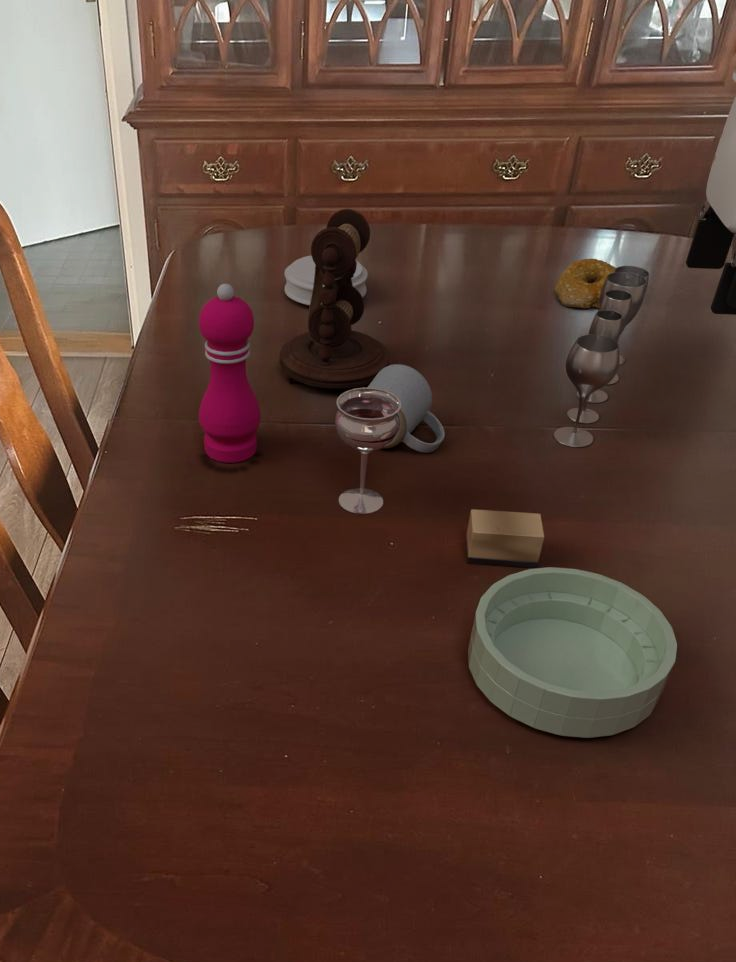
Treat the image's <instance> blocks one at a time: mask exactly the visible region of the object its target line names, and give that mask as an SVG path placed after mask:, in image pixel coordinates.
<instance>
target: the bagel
mask: <svg viewBox="0 0 736 962" xmlns="http://www.w3.org/2000/svg"><path fill="white" fill-rule="evenodd" d="M616 268H617V267H616V266H613V265H611V264H610V263H608V262H607V261H604V260H601V259H598V258H584V259H579V260H575V261H573V262H571V263H570V264H569V265H568V267H566V269H564V270H563V271H562V273H561V275H560V276H559V279H558V281H557V283H556V285H555V287H554V293H555V294H556V295H557V296H558V299H559V300H560V302H561V305H563V306H565V307H566V308H578V309H590V308H596V309H599V299H600V294H601V290H602V287H603V284H604V282H605V280H606V277H607V276H608V275H609V274H611V273H613V272H614V270H615V269H616Z"/></svg>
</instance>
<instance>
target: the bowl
mask: <svg viewBox="0 0 736 962" xmlns="http://www.w3.org/2000/svg"><path fill="white" fill-rule="evenodd" d="M472 623H473V624H472V628H471V633H470V639H469V643H468V649H467V660H468V661H467V662H468V668H469V671H470V674H471V676H472V678H473V680H474V682H475V685H476V687H478V688H479V690H480V691H481V692H482V694H483V695H484V696H485V697H486V699H488V701H489V702H490V703H492V705H494V706H495V707H497V708H498V709H499V710H500V711H502V712H503V713H505V714H506V715H507V716H508V717H510V718H512V719H514V720H516V721H519V722H521V723H523V724H525V725H527V726H529V727H531V728H533V729H535V730H538V731H539V730H540V731H542V732H547V733H549V734H554V735H558V736H563V737H570V738H571V737H573V738H584V739H592V738H599V737H608V736H614V735H617V734H620V733H622V732H624V731H627V730H631V729H633V728H635V727H636V726H637V725H639V724H640V723H642V722H643V721H644V720H646V719H647V718H648V717H650V716H651V714H652V713H653V711H654V709H655V708H656V707H657V705H658V703H659V701H660V699H661V696H662V694H663V692H664V690H665V687H666V684H667V683H668V680H669V678H670V675H671V673H672V671H673V668H674V666H675V664H676V660H677V651H678V643H677V638H676V636H675V632H674V629H673V626H672V624H670V622H669V621H668V619H667V618H666V617H665V615H664V614H663V612H662V610H661V609H659V607H657V606H656V605H655V604H654V603H653V602H652V601H650V600H649V599H648V597H646V596H645V595H643V594H641V593H640V592H638V591H636V590H635V589H633V588H632V587H630V586H628V585H626V584H625V583H623V582H620V581H618V580H616V579H613V578H610V577H608V576H605V575H603V574H600V573H596V572H591V571H587V570H582V569H578V568H566V567H555V566H554V567H551V566H548V567H537V568H528V569H524V570H522V571H518V572H514V573H511V574H508V575H506V576H505V577H503V578H501V579H500V580H498V581H496V582H494V583H492V585H491V586H490V587H488V589H487V590H486V591H485V592H484V593H483V595H481V597H480V599H479V602H478V604H477V607H476V610H475V615H474V619H473V622H472Z"/></svg>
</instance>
